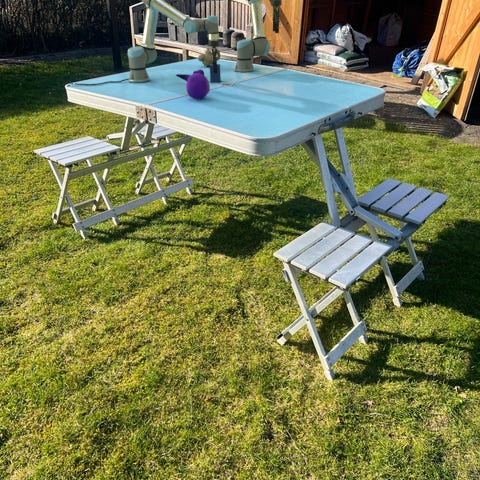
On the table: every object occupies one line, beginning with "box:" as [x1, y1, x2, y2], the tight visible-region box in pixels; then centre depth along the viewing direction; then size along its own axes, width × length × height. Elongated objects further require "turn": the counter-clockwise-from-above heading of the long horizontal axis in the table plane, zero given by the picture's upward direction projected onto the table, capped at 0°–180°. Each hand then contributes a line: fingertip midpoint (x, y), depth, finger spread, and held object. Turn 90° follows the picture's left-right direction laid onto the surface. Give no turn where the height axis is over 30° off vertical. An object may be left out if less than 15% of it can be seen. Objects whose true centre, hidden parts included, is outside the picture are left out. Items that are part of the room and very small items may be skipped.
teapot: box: [197, 47, 221, 68], centre depth 386 cm, size 21×12×15 cm, turn 120°
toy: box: [175, 69, 211, 100], centre depth 285 cm, size 16×18×27 cm
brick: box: [209, 63, 222, 83], centre depth 329 cm, size 8×5×12 cm, turn 93°
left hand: (215, 71), depth 329 cm, fingers open, 13 cm apart
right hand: (275, 32), depth 329 cm, fingers open, 13 cm apart
